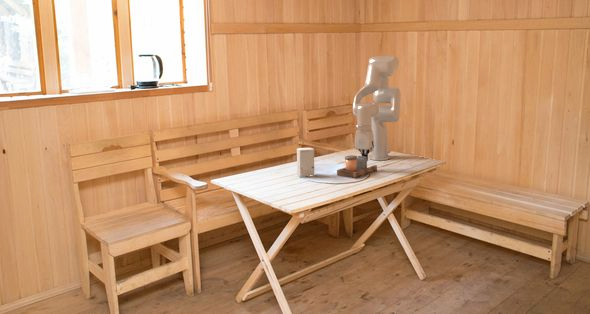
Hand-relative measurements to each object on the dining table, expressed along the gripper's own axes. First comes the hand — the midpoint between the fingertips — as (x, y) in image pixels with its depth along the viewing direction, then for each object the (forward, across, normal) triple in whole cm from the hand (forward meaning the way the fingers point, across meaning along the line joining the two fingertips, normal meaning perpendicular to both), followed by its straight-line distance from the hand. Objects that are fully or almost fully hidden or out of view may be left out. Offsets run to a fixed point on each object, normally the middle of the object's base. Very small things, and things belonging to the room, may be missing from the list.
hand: (364, 161), depth 306 cm
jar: (+4, 0, -12) cm, 13 cm away
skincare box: (+6, -20, -26) cm, 33 cm away
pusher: (+4, 0, -5) cm, 6 cm away
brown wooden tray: (+5, 0, -7) cm, 9 cm away
